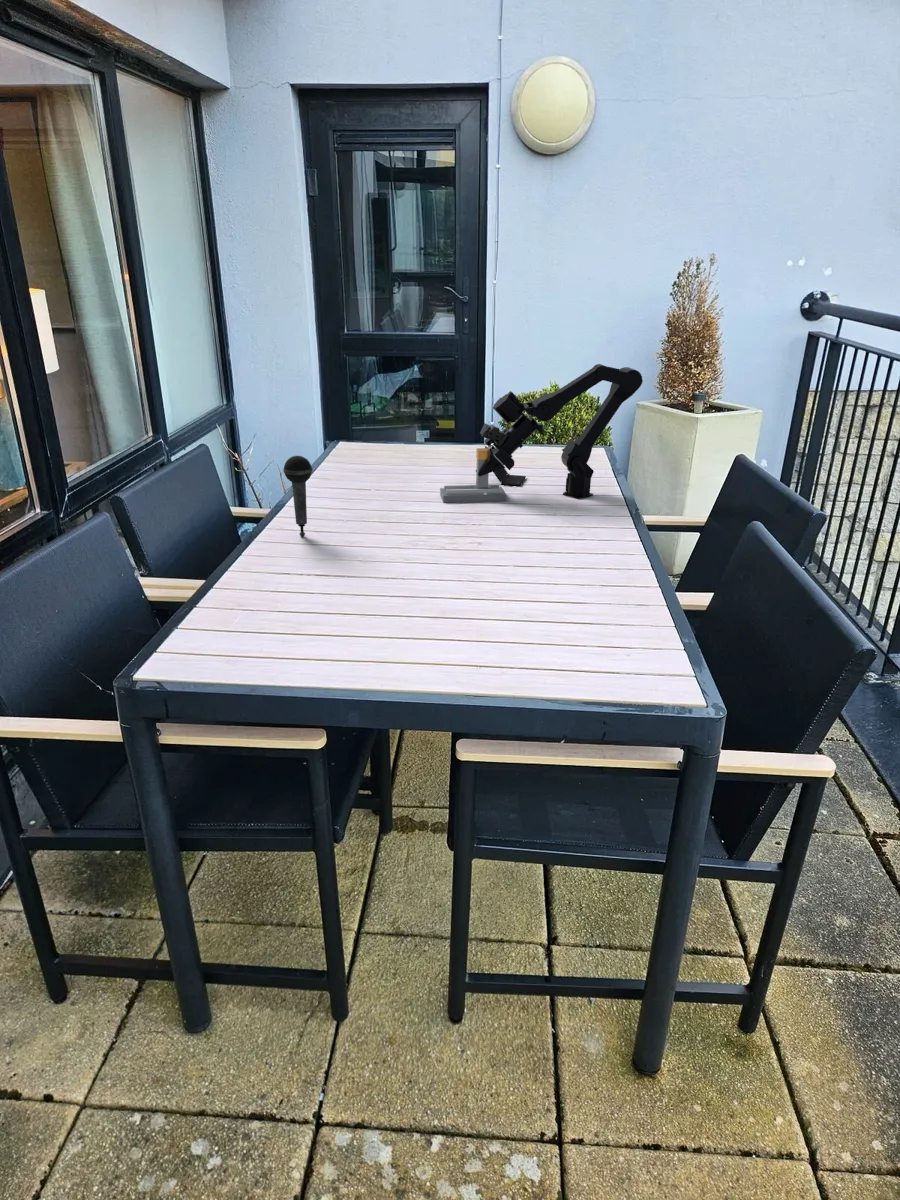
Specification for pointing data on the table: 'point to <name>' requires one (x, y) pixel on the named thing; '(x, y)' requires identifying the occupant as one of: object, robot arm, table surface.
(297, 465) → the microphone
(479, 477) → the block
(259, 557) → the table surface
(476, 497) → the fader track
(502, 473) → the handheld gaming console
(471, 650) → the table surface
